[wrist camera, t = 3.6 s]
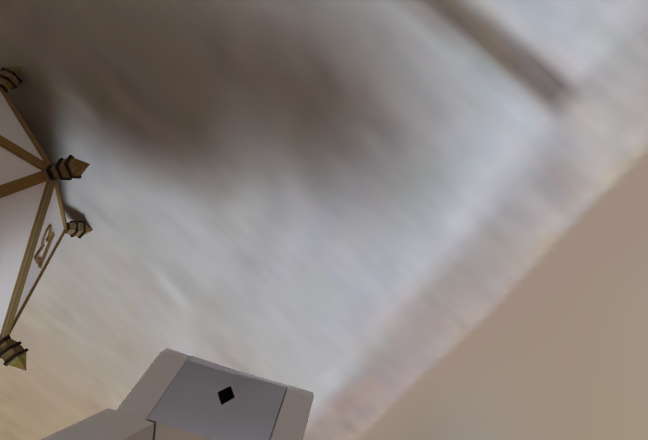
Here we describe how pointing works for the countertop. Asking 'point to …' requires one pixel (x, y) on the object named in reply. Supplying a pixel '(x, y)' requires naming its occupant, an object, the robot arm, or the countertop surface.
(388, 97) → the countertop surface
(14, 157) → the game die
